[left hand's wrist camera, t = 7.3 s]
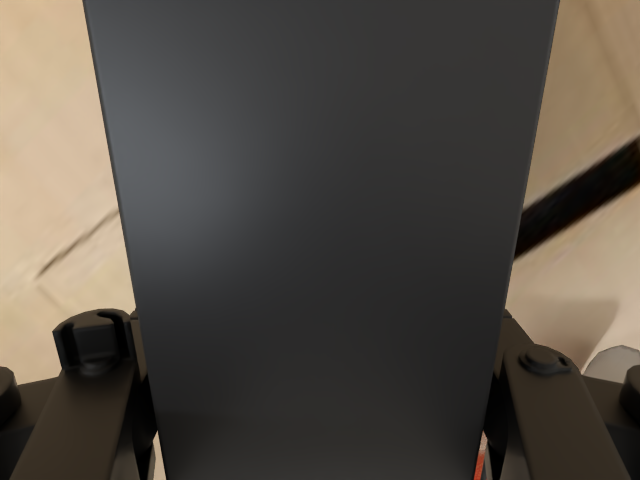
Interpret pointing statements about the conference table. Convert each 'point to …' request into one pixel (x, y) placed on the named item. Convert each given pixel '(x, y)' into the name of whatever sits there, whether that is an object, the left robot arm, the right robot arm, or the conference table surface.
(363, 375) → the bar
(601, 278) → the conference table surface
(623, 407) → the left robot arm
